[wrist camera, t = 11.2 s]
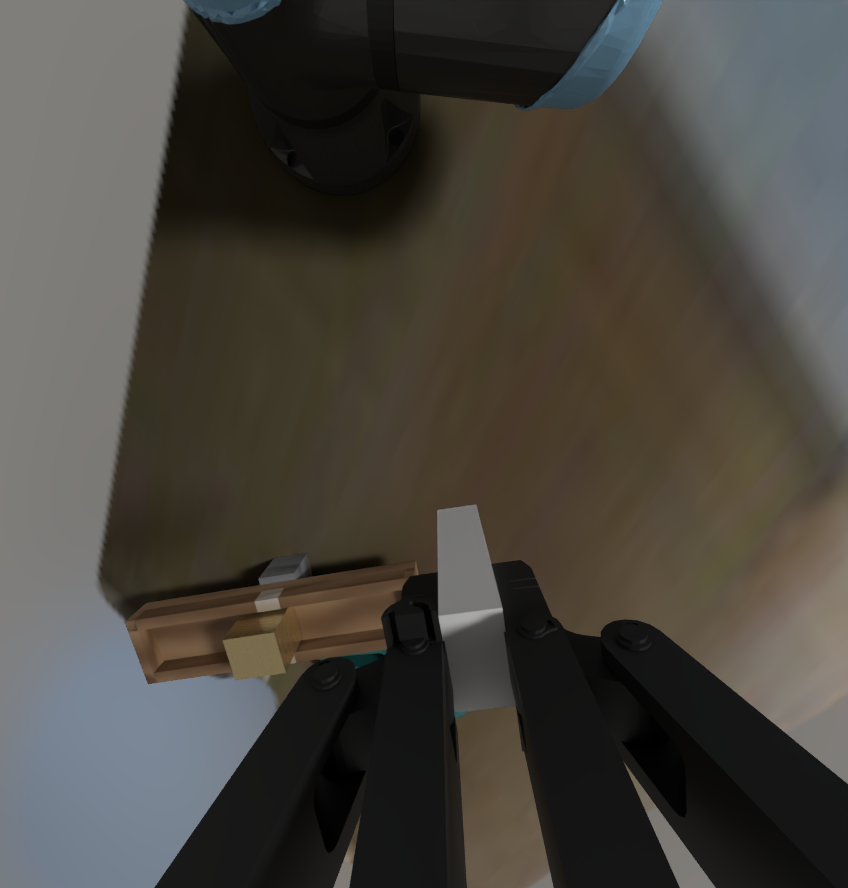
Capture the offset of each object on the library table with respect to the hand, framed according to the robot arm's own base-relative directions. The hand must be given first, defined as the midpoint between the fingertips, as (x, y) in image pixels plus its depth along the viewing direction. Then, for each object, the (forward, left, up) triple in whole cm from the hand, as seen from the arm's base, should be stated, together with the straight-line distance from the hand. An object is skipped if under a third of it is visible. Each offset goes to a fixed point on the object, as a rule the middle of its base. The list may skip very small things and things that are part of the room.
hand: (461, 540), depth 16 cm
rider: (+17, -21, -24) cm, 37 cm away
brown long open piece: (+17, -21, -30) cm, 40 cm away
